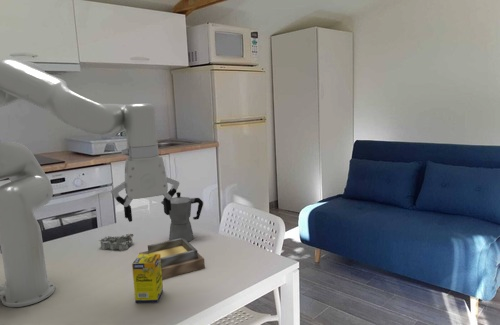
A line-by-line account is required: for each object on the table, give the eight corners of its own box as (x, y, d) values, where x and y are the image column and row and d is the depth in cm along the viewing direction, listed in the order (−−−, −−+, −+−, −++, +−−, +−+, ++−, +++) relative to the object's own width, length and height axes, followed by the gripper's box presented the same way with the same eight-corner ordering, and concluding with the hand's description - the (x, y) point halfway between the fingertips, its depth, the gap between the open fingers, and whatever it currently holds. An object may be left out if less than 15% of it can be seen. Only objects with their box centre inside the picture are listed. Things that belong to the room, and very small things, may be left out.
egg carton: (135, 244, 137) (135, 233, 136) (123, 252, 130) (122, 241, 129) (110, 242, 140) (109, 231, 139) (97, 249, 132) (96, 238, 132)
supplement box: (158, 302, 96) (154, 262, 94) (135, 303, 96) (131, 263, 94) (163, 291, 102) (160, 253, 100) (141, 291, 102) (138, 253, 100)
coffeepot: (161, 244, 135) (157, 196, 132) (166, 235, 144) (162, 189, 141) (204, 242, 135) (201, 194, 132) (206, 233, 145) (203, 188, 141)
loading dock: (153, 281, 107) (151, 263, 106) (140, 261, 121) (138, 245, 120) (204, 267, 115) (203, 251, 114) (186, 250, 129) (185, 235, 128)
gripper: (109, 157, 88) (116, 227, 91) (180, 150, 95) (185, 215, 98) (105, 154, 94) (112, 219, 97) (172, 147, 102) (176, 208, 105)
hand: (148, 216), depth 98 cm, fingers open, 9 cm apart
